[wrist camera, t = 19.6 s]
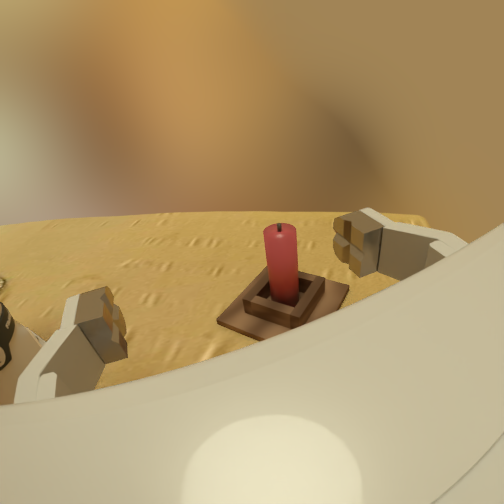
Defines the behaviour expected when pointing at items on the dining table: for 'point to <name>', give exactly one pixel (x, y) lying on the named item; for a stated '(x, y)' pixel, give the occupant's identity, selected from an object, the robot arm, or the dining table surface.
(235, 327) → the walnut stand
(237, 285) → the dining table surface
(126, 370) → the dining table surface
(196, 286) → the dining table surface
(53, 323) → the dining table surface
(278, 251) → the burgundy candle
